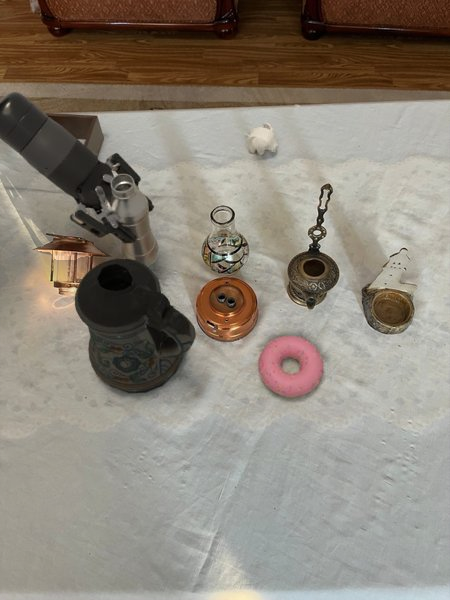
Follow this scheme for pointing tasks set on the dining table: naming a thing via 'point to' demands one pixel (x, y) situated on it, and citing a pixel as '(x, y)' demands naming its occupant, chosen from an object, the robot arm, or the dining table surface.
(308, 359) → the doughnut
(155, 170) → the dining table surface
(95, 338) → the dark ceramic jug
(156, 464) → the dining table surface
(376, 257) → the dining table surface
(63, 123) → the crate
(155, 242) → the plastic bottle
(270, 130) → the elephant figurine
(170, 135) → the dining table surface
